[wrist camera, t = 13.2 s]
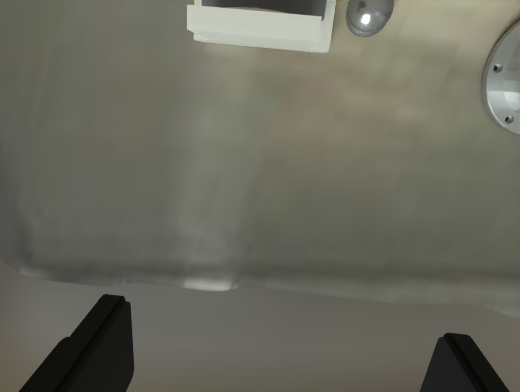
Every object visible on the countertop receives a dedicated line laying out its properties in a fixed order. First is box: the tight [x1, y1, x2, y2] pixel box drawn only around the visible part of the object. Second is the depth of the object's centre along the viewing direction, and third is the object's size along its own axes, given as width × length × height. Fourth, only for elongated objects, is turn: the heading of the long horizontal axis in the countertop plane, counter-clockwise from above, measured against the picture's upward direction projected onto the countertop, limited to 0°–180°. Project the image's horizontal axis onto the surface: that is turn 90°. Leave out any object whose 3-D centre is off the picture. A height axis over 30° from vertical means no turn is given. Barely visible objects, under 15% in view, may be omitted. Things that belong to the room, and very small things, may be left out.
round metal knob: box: [346, 0, 394, 37], centre depth 33 cm, size 4×4×2 cm
